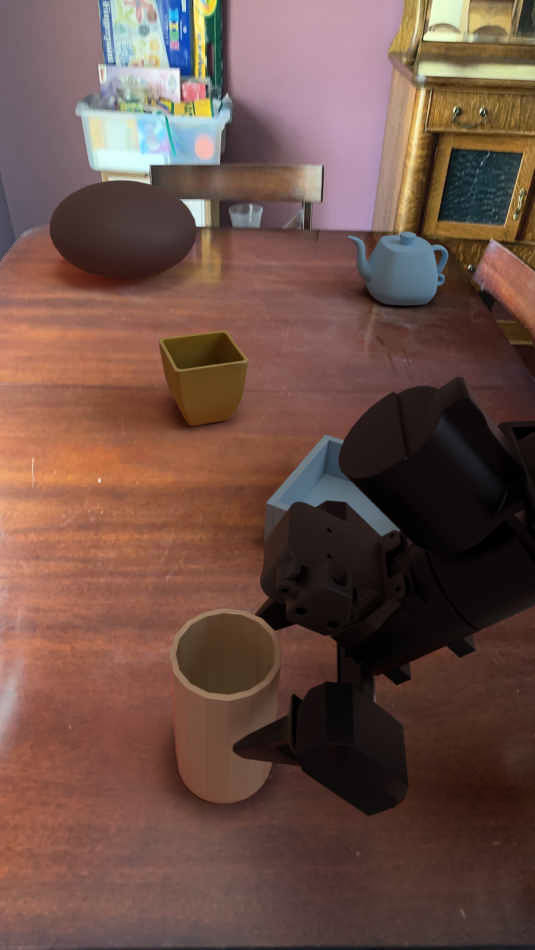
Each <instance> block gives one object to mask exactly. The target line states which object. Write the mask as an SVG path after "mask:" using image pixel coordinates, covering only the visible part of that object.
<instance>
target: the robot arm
mask: <svg viewBox="0 0 535 950" xmlns="http://www.w3.org/2000/svg"><path fill="white" fill-rule="evenodd" d="M343 440H344V442H343V444H342V446H341V448H340V453H339V457H338V464H339V467H340V470H341V472H342V473H343V474H344V475H345V476H346V477H347V478H348V479H349V480H350V481H351V482H352V483H353V484H354V485H355V486H356V487H357V488H358V489H359V490H360V491H361V492H362V493H363V494H364V495H365V496H366V497H367V498H368V499H369V500H370V501H371V502H372V503H373V504H374V505H375V506H376V507H377V508H378V509H379V510H380V511H381V512H382V513H383V514H384V515H385V516H386V517H387V518H388V519H389V520H390V521H391V522H392V523H393V524H394V525H395V526H396V527H397V528H398V529H399V530H400V531H399V532H398V531H397V530H392V531H391V532H389V533H387V534H385V535H383V536H381V535H379V534H378V533H377V532H376V531H375V530H374V529H373V528H372V527H371V526H370V525H369V524H368V523H367V522H366V521H365V520H364V519H363V518H362V517H361V516H360V515H359V514H358V513H357V512H356V511H355V510H354V509H353V508H352V507H351V506H350V505H349V504H348V503H347V502H342V501H330V500H326V501H324V502H323V503H321V504H320V505H318V506H316V507H314V506H312V505H309V504H307V503H304V502H294V503H293V504H292V505H291V506H290V507H289V509H288V510H287V512H286V513H285V514H284V516H283V517H282V518H281V520H280V521H279V522H278V524H277V525H276V526H275V528H274V529H273V530H272V532H271V533H270V535H269V536H268V537H267V539H266V540H265V542H264V541H263V543H264V544H263V550H264V552H263V553H264V555H263V563H262V570H261V573H260V578H259V584H260V589H261V590H262V592H263V593H264V595H266V597H267V599H266V601H264V602H263V604H262V605H261V606H260V607H259V608H258V610H257V611H256V612H255V613H254V614H253V615H255V616H257V617H260V618H262V619H263V620H264V621H265V622H266V623H267V624H268V625H269V626H270V627H271V628H272V629H273V630H274V631H275V632H277V631H280V630H283V629H286V628H289V627H293V626H295V625H297V626H299V627H302V628H304V629H306V630H309V631H311V632H314V633H317V634H319V635H320V636H321V635H322V636H324V637H327V636H329V637H330V638H331V639H332V640H333V641H334V642H336V681H327V680H326V681H323V682H321V683H320V684H317V685H315V686H313V687H310V688H309V689H308V691H307V692H306V694H305V696H304V698H303V699H302V698H301V697H300V696H298V695H297V694H296V693H292V694H291V695H290V701H289V706H288V713H287V714H286V715H285V716H282V717H280V718H278V719H276V721H274V722H272V723H270V724H268V725H266V726H264V727H262V728H260V729H258V730H256V731H254V732H252V733H250V734H248V735H246V736H245V737H243V738H242V739H240V740H239V741H237V742H236V743H234V744H233V748H232V751H233V752H234V753H235V754H237V755H238V756H240V757H241V758H244V759H250V760H257V761H265V762H272V764H273V763H274V764H278V765H279V764H280V765H288V766H294V767H295V766H296V767H300V769H301V771H302V773H304V774H305V775H307V777H309V778H311V779H312V780H314V781H315V782H317V783H318V784H319V785H322V786H323V787H324V788H325V789H327V790H328V791H330V792H332V794H334V795H336V796H338V797H339V798H341V799H342V800H343V801H345V802H346V803H348V804H349V805H351V806H352V807H354V808H355V809H357V810H358V811H360V812H361V813H363V814H364V816H365V815H366V816H367V817H372V816H374V815H377V814H380V813H383V812H386V811H388V810H392V809H395V808H396V807H397V806H399V805H400V804H401V803H403V801H405V799H406V796H407V794H408V791H409V787H410V782H409V771H408V762H407V749H406V742H405V740H406V739H405V732H404V731H405V730H404V724H403V723H402V722H401V721H399V720H398V719H397V718H395V717H394V716H393V715H392V714H390V713H389V712H388V711H387V710H385V709H384V708H383V707H382V706H380V705H379V704H378V703H377V702H378V701H377V690H376V688H377V687H376V677H378V676H380V675H381V676H382V675H383V676H385V677H386V678H387V679H388V680H390V682H392V683H393V684H394V685H396V686H399V685H402V684H403V683H406V682H408V681H410V680H412V670H411V664H410V663H412V662H414V661H416V660H418V659H422V658H424V657H425V656H427V655H430V654H432V653H434V652H436V651H438V650H440V649H443V648H445V647H447V648H448V649H449V650H450V651H451V652H453V654H455V656H456V657H458V658H459V659H461V658H463V657H465V656H468V655H470V654H472V653H474V652H476V651H477V650H476V645H475V640H474V636H473V635H474V634H476V633H478V632H481V631H483V630H484V629H487V628H489V627H491V626H494V625H496V624H498V623H500V622H502V621H504V620H507V619H509V618H511V617H514V616H516V615H518V614H520V613H522V612H525V611H527V610H530V609H532V608H533V607H535V420H512V421H502V422H499V424H496V423H495V421H494V420H493V419H492V418H491V417H490V416H489V415H488V413H487V412H486V411H485V409H484V408H483V406H482V403H481V400H480V399H479V396H478V394H477V392H476V391H475V390H474V388H472V386H471V385H470V384H469V383H468V381H467V380H466V379H465V377H463V376H456V377H454V378H452V379H451V380H449V381H448V382H446V383H444V385H442V386H441V387H439V388H437V387H434V386H430V385H416V386H412V387H409V388H406V389H404V390H401V391H400V392H396V391H391V392H390V393H388V394H386V395H385V396H383V397H382V398H380V399H379V400H378V401H376V402H375V403H374V404H373V405H371V406H370V407H369V408H367V410H366V411H365V412H364V413H363V414H362V415H360V417H359V418H358V419H357V420H356V422H355V423H354V424H353V425H352V426H351V428H350V429H349V431H348V433H347V434H346V436H345V438H344V439H343Z"/></svg>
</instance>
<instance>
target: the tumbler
mask: <svg viewBox="0 0 535 950" xmlns="http://www.w3.org/2000/svg"><path fill="white" fill-rule="evenodd" d="M168 653H169V655H168V657H169V671H170V672H169V673H170V686H171V688H170V689H171V701H172V702H171V703H172V715H173V716H172V717H173V729H174V744H175V745H174V746H175V758H176V762H177V769H178V773H179V775H180V778H181V780H182V782H183V784H184V786H186V787H187V789H188V790H189V791H190V792H192V793H193V795H195V796H197V797H198V798H199V799H201V800H204V801H207V802H210V803H214V804H222V805H223V804H225V805H227V804H233V803H238V802H241V801H244V800H245V799H248V798H250V797H251V796H252V795H254V794H256V793H257V792H258V791H259V790H260V789H261V788H262V786H263V785H264V784H265V782H266V781H267V779H268V777H269V775H270V773H271V769H272V767H273V763H272V762H265V761H257V760H250V759H244V758H241V757H240V756H238V755H237V754H235V753H234V752H233V751H232V748H233V744H234V743H236V742H237V741H239V740H240V739H242V738H243V737H245V736H246V735H248V734H250V733H252V732H254V731H256V730H258V729H260V728H262V727H264V726H266V725H268V724H270V723H272V722H274V721H276V720H277V711H278V701H279V689H280V681H281V679H280V678H281V669H282V657H283V647H282V644H281V641H280V639H279V637H278V634H277V631H274V630H273V629H272V628H271V627H270V626H269V625H268V624H267V623H266V622H265V621H264V620H263V619H262V618H260V617H257V616H255V615H254V614H253V613H252V612H251V613H250V612H248V611H246V610H243V609H233V608H218V609H213V610H207V611H203V612H201V613H199V614H198V615H196V616H194V617H192V618H191V619H189V620H187V621H186V622H184V624H183V625H182V626H181V627H180V628H179V630H178V631H177V632H176V634H175V635H174V636H173V639H172V642H171V646H170V650H169V652H168Z"/></svg>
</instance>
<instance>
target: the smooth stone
mask: <svg viewBox="0 0 535 950" xmlns="http://www.w3.org/2000/svg"><path fill="white" fill-rule="evenodd" d="M197 229H198V228H197V222H196V219H195V217H194V216H193V213H192V211H191V210H190V208H189V207H188V205H186V204H185V202H184V201H183V200H181V198H179V197H177V196H176V195H175V194H174V193H172V192H170V191H169V190H166V189H164V188H162V187H159V186H157V185H155V184H151V183H147V182H143V181H137V180H127V179H115V180H113V179H112V180H106V181H101V182H100V181H99V182H96V183H92V184H88V185H85V186H84V187H81V188H79V189H77V190H75V191H73V192H71V193H70V194H69V195H68V196H66V197H65V198H64V199H63V200H61V201H60V202H59V204H58V205H57V206H56V208H55V209H54V210H53V213H52V214H51V217H50V220H49V236H50V239H51V242H52V245H53V246H54V248H55V249H56V251H57V252H58V253H59V254H60V256H61V257H62V258H63V259H64V260H65V261H66V262H68V263H69V264H71V265H72V266H73V267H75V268H77V269H79V270H81V271H83V272H85V273H88V274H90V275H94V276H98V277H102V278H107V279H113V280H137V279H145V278H148V277H152V276H155V275H159V274H160V273H164V272H167V271H168V270H171V269H172V268H174V267H175V266H177V265H178V264H180V263H181V262H182V261H184V259H185V258H186V257H187V256H188V255H189V254H190V252H191V251H192V249H193V247H194V245H195V243H196V240H197V233H198V232H197V231H198V230H197Z"/></svg>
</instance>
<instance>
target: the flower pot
mask: <svg viewBox="0 0 535 950" xmlns="http://www.w3.org/2000/svg"><path fill="white" fill-rule="evenodd" d="M158 346H159V351H160V357H161V362H162V368H163V373H164V377H165V381H166V384H167V386H168V389H169V391H170V393H171V395H172V398H173V399H174V401H175V404H176V405H177V407H178V409H179V410H180V412H181V414H182V417H183V418H184V420H185V422H186V423H187V424H188V425H189V426H191V427H195V426H200V425H201V426H202V425H205V424H213V423H217V422H225V421H228V420H229V419H230V418H231V417H232V416H233V415H234V414H235V412H236V411H237V410H238V408H239V406H240V404H241V402H242V400H243V396H244V392H245V386H246V379H247V372H248V366H249V359H248V357H247V356H246V355H245V354H244V352H243V351H242V350H241V349H240V347H239V346H238V345H237V344H236V342H235V340H234V339H233V337H232V336H231V334H230V333H229V332H228V331H226V330H215V331H208V332H200V333H193V334H185V335H184V334H183V335H177V336H168V337H161V338H159V339H158Z"/></svg>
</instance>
